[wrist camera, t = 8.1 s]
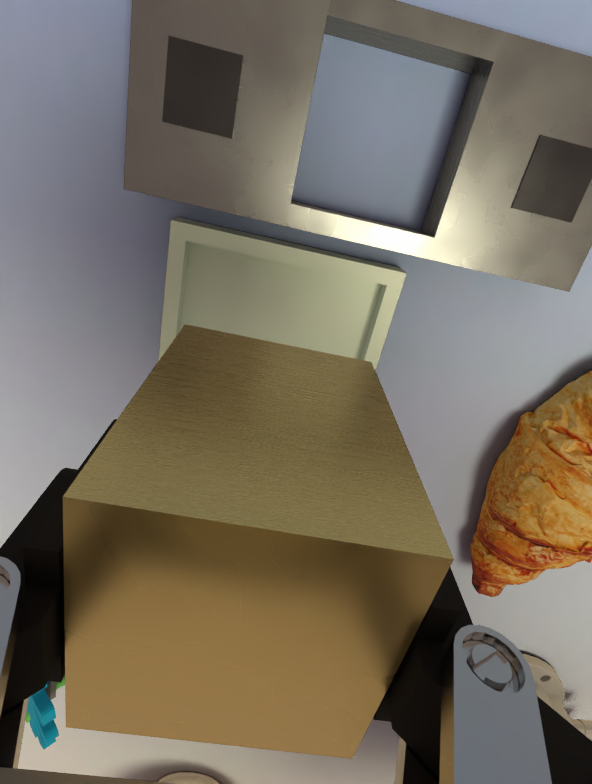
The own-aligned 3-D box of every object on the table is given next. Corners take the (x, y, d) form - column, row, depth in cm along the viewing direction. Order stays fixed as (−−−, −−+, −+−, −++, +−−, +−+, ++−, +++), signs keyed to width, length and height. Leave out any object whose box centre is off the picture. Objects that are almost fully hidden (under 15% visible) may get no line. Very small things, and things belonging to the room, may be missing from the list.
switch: (631, 90, 21) (673, 79, 18) (544, 280, 25) (570, 292, 22) (154, -45, 19) (134, -77, 16) (140, 187, 22) (122, 188, 20)
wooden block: (371, 362, 13) (453, 558, 6) (326, 505, 16) (352, 758, 9) (185, 323, 13) (62, 496, 6) (167, 478, 15) (66, 726, 8)
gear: (-14, 595, 33) (35, 723, 28) (70, 558, 37) (126, 664, 32) (-6, 664, 39) (37, 779, 34) (66, 626, 43) (113, 724, 38)
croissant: (599, 287, 28) (629, 286, 21) (773, 365, 26) (874, 394, 19) (429, 526, 37) (410, 584, 29) (548, 605, 34) (559, 689, 27)
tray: (399, 267, 24) (406, 273, 23) (359, 396, 28) (363, 408, 26) (178, 217, 23) (171, 220, 22) (164, 357, 27) (157, 368, 25)
